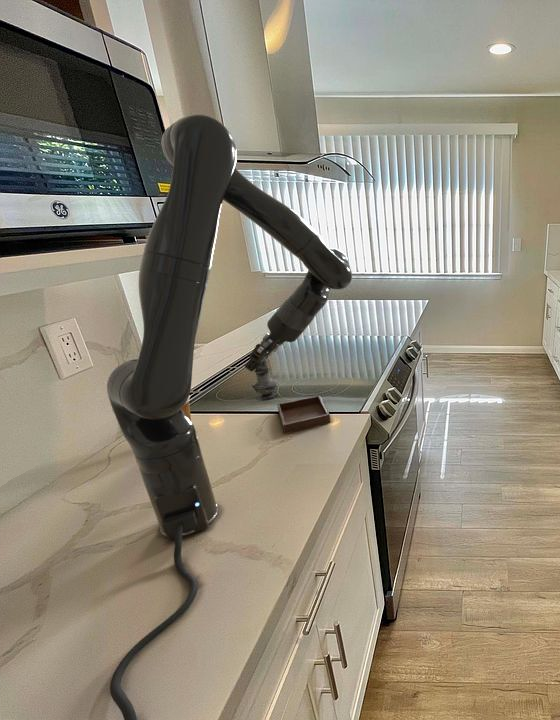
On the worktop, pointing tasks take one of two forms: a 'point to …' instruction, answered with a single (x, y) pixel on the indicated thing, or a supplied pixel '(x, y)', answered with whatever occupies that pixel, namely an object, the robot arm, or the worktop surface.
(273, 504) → the worktop surface
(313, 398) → the spice tray
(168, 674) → the worktop surface
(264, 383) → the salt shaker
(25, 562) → the worktop surface
